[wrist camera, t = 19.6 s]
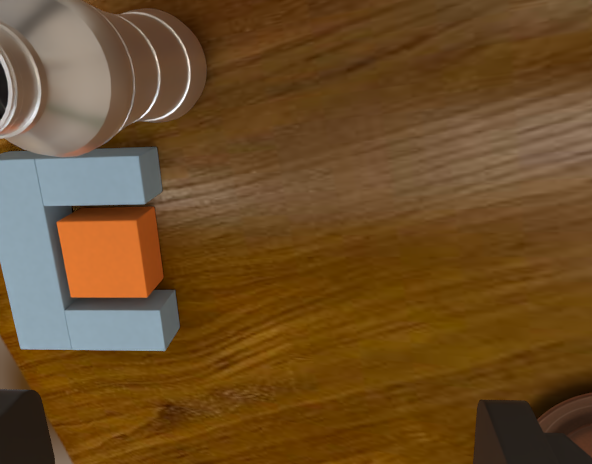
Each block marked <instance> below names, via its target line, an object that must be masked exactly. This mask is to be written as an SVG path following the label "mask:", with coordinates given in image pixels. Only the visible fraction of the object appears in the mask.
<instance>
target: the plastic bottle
mask: <svg viewBox="0 0 592 464" xmlns="http://www.w3.org/2000/svg"><path fill="white" fill-rule="evenodd" d="M206 78H207V65H206V59H205V55H204V52H203V49H202V46H201V45H200V43H199V41H198V39H197V37H196V36H195V35H194V34H193V32H192V31H191V30H190V29H189V28H188V27H187V26H186V25H184V24H183V23H182V22H181V21H180V20H179V19H178V18H176V17H174V16H172V15H171V14H169V13H167V12H164V11H161V10H158V9H149V8H145V9H136V10H131V11H128V12H125V13H122V14H116V15H114V14H110V13H107V12H104V11H101V10H99V9H97V8H95V7H93V6H91V5H89V4H88V3H86V2H84V1H82V0H0V138H5V139H7V140H8V141H9V142H11V143H13V144H14V145H16V146H18V147H20V148H22V149H24V150H27V151H30V152H33V153H36V154H42V155H47V156H55V157H75V156H79V155H82V154H85V153H88V152H90V151H92V150H94V149H96V148H97V147H99V146H101V145H103V144H104V143H106V142H108V141H109V140H110V139H111V138H112V137H114V136H115V135H116V134H117V133H118V132H120V131H121V130H122V129H123V128H124V127H126V126H128V125H130V124H131V123H133V122H136V121H145V122H168V121H171V120H174V119H177V118H179V117H181V116H183V115H184V114H186V113H187V112H188V111H189V110H190V109H191V108H192V107H193V106H194V104H195V103H196V102H197V100H198V99H199V97H200V96H201V94H202V91H203V89H204V87H205V82H206Z"/></svg>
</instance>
